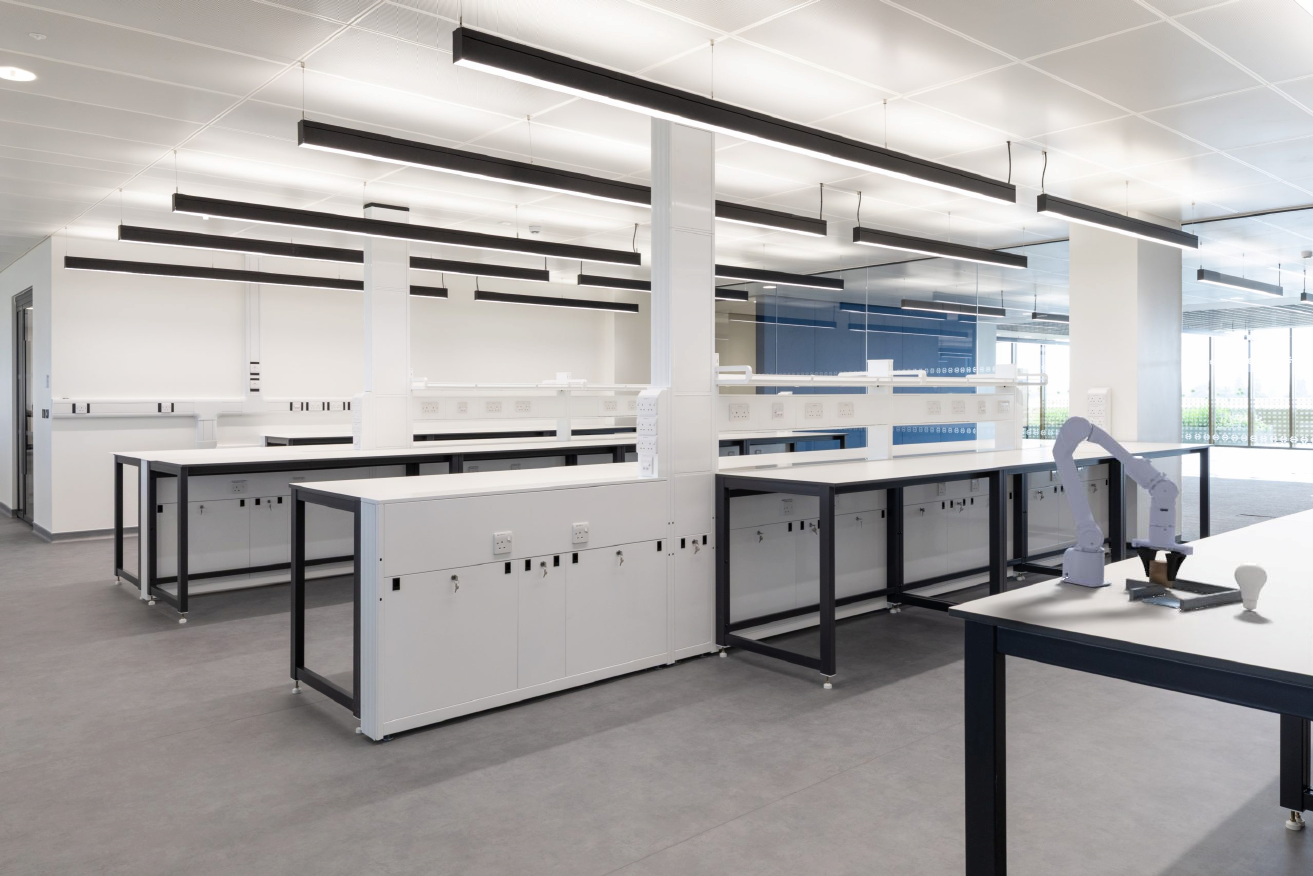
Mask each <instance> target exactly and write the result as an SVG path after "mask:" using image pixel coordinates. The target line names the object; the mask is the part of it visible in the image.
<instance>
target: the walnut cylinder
mask: <svg viewBox="0 0 1313 876" xmlns="http://www.w3.org/2000/svg"><path fill="white" fill-rule="evenodd" d="M1167 570H1168V568H1167V560H1163V559H1162V560H1161V559H1159V560H1158V559H1155V560H1150V567H1149V577H1148V582H1151V583H1156V584H1162V585H1165V588H1173V587H1172V581H1168V579H1167Z"/></svg>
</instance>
